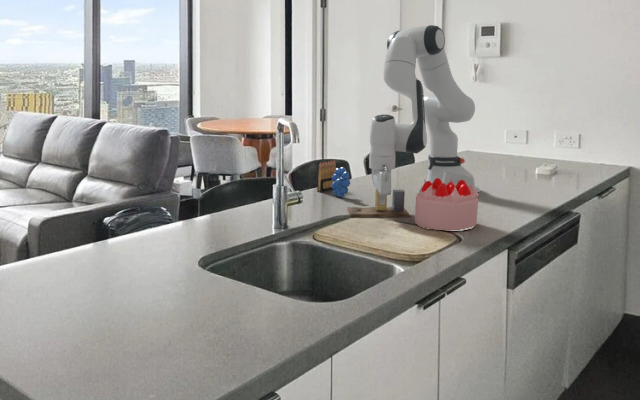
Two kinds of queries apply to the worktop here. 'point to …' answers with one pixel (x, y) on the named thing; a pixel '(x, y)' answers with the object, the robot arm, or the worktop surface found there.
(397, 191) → the grey rectangular block
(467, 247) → the worktop surface
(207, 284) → the worktop surface
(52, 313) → the worktop surface
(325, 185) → the ammunition clip
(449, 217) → the cake
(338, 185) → the grapes
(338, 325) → the worktop surface
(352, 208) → the brown flat rectangular board
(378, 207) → the wooden block
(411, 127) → the robot arm
